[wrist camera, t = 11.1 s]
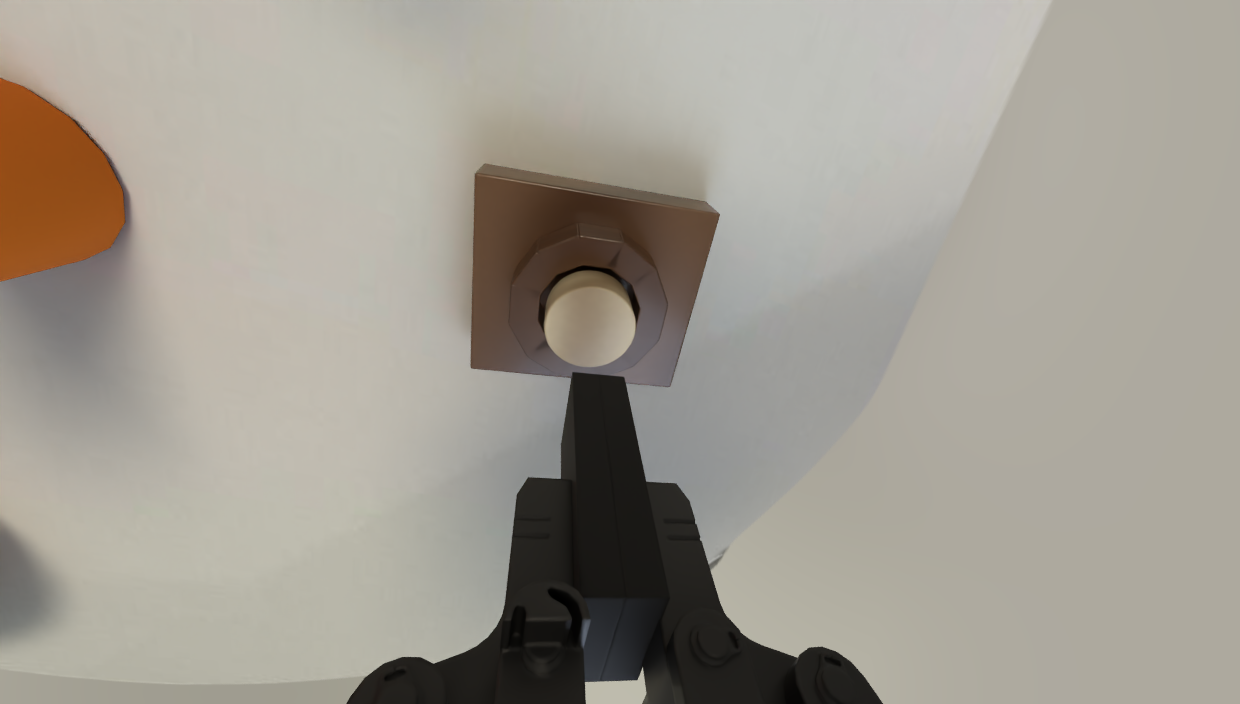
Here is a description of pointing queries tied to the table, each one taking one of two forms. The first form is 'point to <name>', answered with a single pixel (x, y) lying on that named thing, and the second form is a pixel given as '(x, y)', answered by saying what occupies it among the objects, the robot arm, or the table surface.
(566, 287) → the button
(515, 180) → the button block
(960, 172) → the table surface
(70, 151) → the spray bottle
